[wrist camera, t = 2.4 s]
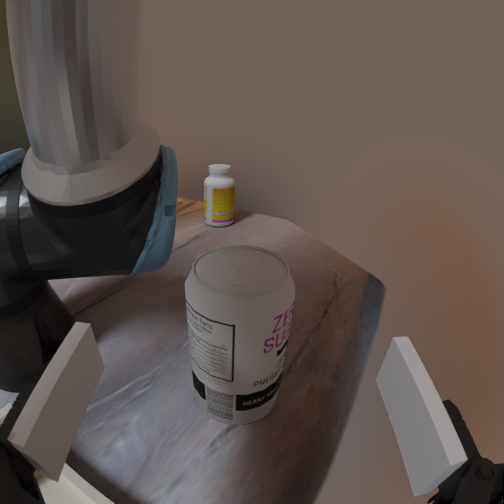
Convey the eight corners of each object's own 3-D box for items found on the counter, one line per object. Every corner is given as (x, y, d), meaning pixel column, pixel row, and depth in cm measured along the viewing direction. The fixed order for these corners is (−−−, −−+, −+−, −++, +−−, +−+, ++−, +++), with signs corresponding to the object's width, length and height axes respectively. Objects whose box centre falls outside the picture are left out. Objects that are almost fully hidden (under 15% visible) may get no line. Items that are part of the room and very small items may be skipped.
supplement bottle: (239, 222, 71) (242, 166, 65) (219, 230, 66) (220, 170, 61) (218, 215, 75) (219, 161, 69) (197, 222, 70) (197, 165, 64)
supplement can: (197, 365, 33) (190, 240, 26) (272, 367, 33) (289, 243, 26) (191, 426, 25) (174, 296, 19) (280, 427, 26) (308, 300, 19)
